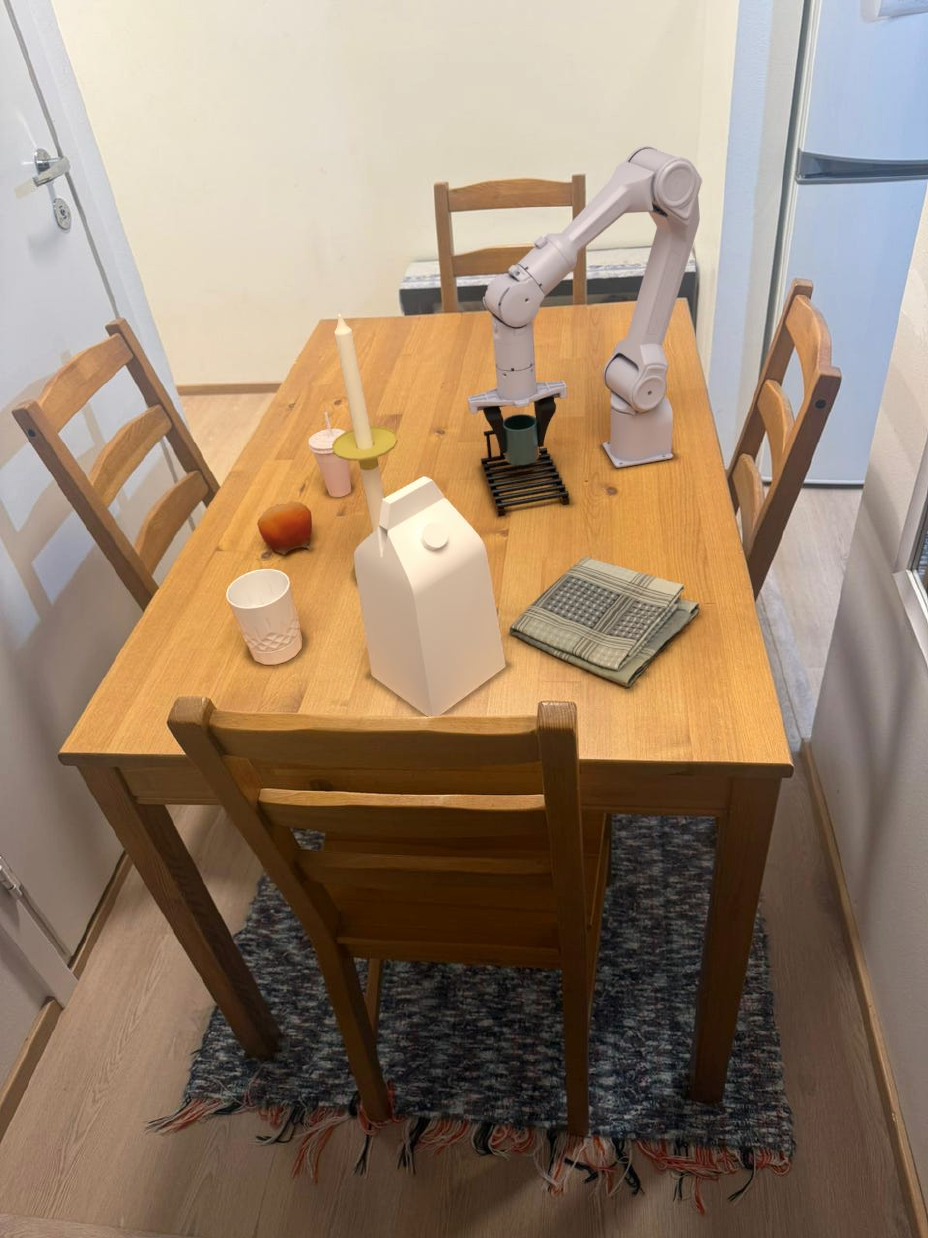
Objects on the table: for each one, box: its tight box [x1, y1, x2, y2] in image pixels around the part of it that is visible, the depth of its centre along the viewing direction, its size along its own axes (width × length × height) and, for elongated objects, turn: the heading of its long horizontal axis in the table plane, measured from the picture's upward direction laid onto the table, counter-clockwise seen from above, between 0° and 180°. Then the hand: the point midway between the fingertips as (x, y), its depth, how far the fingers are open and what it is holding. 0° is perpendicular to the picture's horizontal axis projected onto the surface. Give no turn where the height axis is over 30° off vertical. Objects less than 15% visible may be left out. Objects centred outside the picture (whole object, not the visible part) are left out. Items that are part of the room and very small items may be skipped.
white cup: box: [225, 568, 303, 666], centre depth 111 cm, size 8×8×10 cm
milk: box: [353, 475, 507, 717], centre depth 100 cm, size 12×12×26 cm
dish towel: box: [509, 556, 700, 688], centre depth 110 cm, size 19×18×3 cm
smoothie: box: [307, 411, 352, 498], centre depth 139 cm, size 6×6×14 cm
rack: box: [480, 429, 570, 517], centre depth 137 cm, size 11×15×7 cm
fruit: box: [256, 501, 313, 556], centre depth 131 cm, size 8×8×8 cm
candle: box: [332, 309, 398, 581], centre depth 113 cm, size 10×10×38 cm
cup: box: [503, 413, 540, 466], centre depth 134 cm, size 5×5×6 cm
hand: (520, 447), depth 135 cm, fingers closed on cup, 5 cm apart
